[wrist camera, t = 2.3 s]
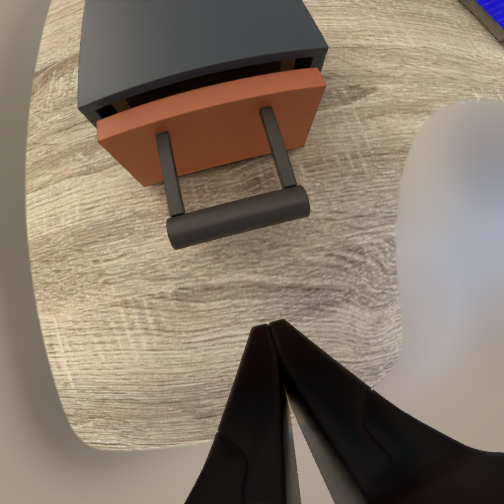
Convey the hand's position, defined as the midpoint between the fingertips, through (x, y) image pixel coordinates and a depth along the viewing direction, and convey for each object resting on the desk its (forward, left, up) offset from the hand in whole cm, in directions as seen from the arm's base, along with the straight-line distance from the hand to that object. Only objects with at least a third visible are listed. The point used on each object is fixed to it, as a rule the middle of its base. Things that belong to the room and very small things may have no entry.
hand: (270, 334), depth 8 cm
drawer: (+7, -10, -11) cm, 17 cm away
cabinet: (+10, -14, -12) cm, 21 cm away
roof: (-17, -44, -12) cm, 49 cm away
